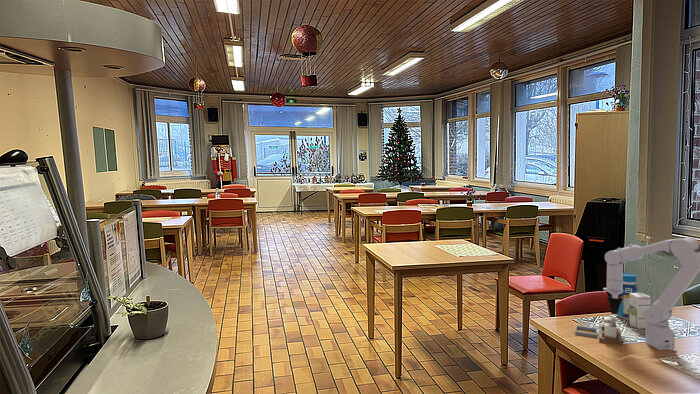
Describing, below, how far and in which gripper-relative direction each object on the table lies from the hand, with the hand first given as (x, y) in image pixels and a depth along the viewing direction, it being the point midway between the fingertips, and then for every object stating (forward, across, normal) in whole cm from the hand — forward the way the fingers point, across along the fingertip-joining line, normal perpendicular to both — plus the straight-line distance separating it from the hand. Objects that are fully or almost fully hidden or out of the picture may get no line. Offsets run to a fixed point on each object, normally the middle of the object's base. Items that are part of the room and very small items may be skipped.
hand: (613, 311), depth 179 cm
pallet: (+9, +7, -2) cm, 12 cm away
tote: (+9, +7, -10) cm, 15 cm away
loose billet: (+9, +12, -2) cm, 14 cm away
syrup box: (+10, -13, +10) cm, 19 cm away
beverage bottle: (+10, -27, +6) cm, 29 cm away
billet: (+9, +3, -1) cm, 9 cm away
